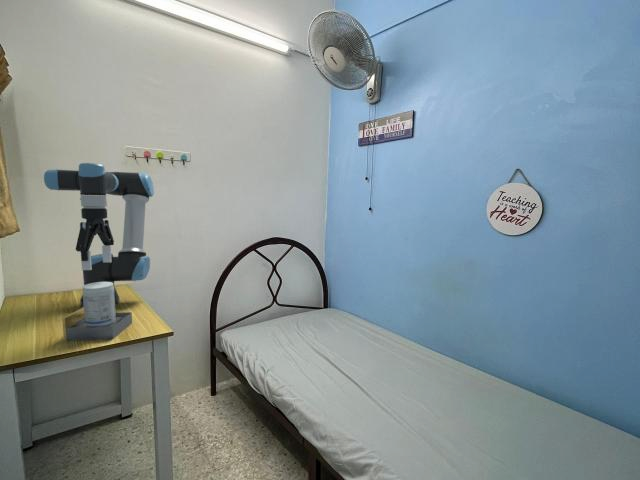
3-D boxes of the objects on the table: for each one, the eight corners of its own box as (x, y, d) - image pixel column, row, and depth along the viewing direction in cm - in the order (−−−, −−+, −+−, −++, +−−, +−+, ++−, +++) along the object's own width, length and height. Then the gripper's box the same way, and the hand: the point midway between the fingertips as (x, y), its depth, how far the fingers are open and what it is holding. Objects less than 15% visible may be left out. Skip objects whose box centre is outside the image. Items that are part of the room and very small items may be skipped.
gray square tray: (89, 324, 124) (87, 304, 123) (132, 323, 127) (131, 303, 126) (63, 340, 110) (62, 318, 109) (113, 339, 112) (112, 317, 111)
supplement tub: (95, 318, 122) (92, 281, 120) (121, 318, 123) (119, 281, 121) (78, 328, 112) (75, 288, 111) (107, 328, 113) (104, 288, 112)
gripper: (101, 206, 125) (104, 259, 127) (59, 208, 100) (64, 273, 103) (122, 207, 126) (124, 259, 129) (85, 208, 101) (89, 273, 104)
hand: (97, 266), depth 116 cm, fingers open, 13 cm apart
